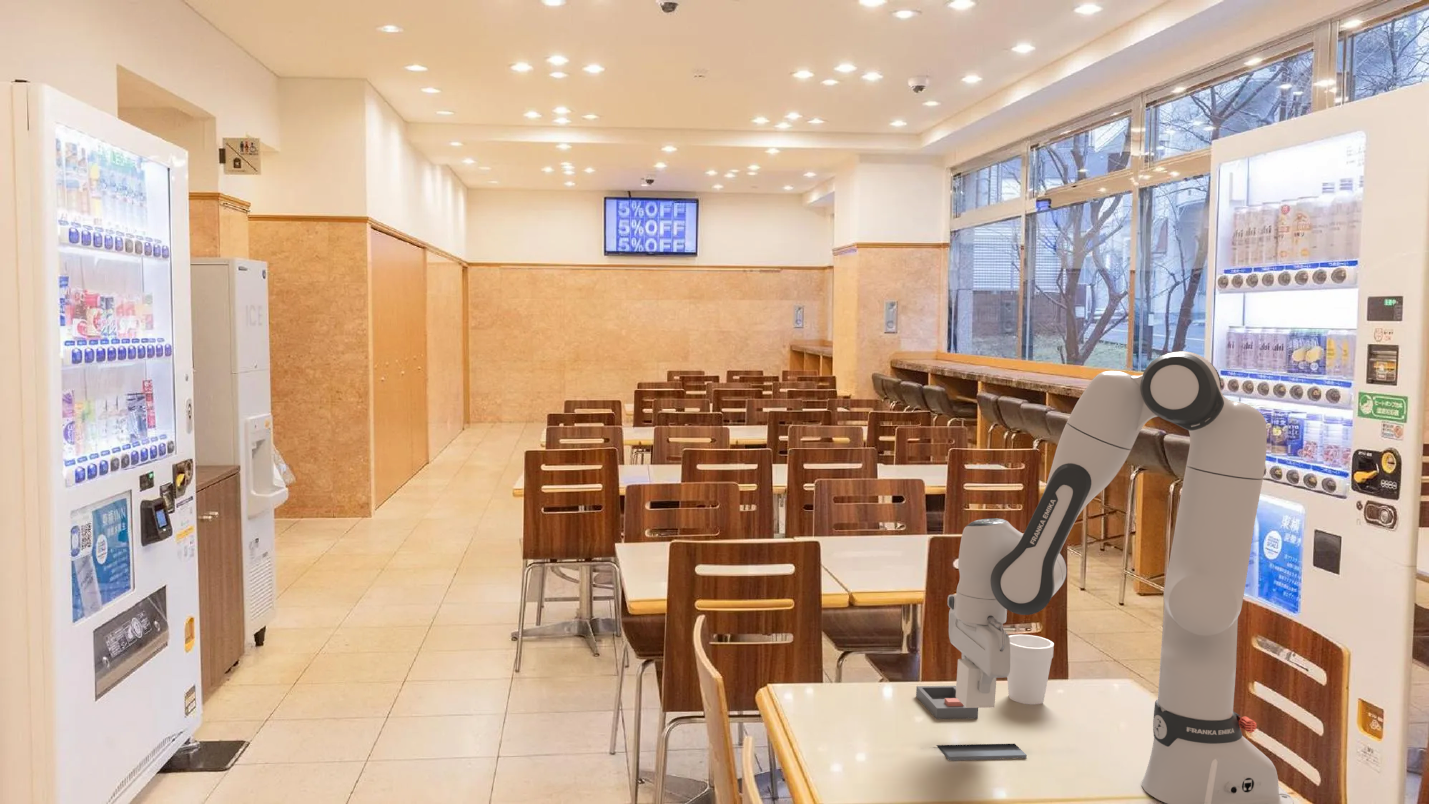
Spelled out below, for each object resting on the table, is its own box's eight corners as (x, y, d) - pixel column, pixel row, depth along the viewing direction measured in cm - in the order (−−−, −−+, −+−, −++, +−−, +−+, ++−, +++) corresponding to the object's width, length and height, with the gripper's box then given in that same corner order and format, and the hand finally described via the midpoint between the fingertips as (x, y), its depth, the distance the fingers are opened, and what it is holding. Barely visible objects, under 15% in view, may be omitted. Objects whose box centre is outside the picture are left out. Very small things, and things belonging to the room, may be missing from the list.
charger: (983, 696, 188) (985, 658, 187) (994, 707, 183) (997, 667, 182) (955, 696, 187) (958, 658, 187) (966, 707, 182) (968, 667, 182)
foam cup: (1056, 703, 208) (1059, 640, 207) (1044, 717, 200) (1047, 651, 199) (1008, 693, 213) (1011, 631, 212) (995, 707, 205) (998, 642, 204)
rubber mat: (998, 731, 192) (999, 728, 192) (1026, 758, 180) (1026, 754, 180) (926, 733, 191) (926, 729, 190) (948, 760, 179) (949, 756, 179)
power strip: (954, 702, 207) (955, 681, 207) (977, 725, 195) (978, 703, 195) (915, 703, 206) (916, 682, 205) (936, 726, 194) (937, 704, 194)
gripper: (1022, 626, 174) (1017, 706, 175) (976, 594, 194) (972, 666, 195) (986, 626, 173) (981, 706, 174) (944, 593, 193) (939, 666, 194)
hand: (976, 685), depth 185 cm, fingers closed on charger, 5 cm apart
